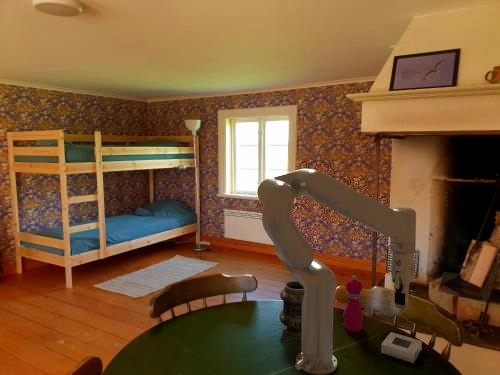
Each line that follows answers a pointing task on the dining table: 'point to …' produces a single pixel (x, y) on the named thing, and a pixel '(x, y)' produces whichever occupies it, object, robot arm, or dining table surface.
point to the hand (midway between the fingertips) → (401, 301)
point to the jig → (401, 347)
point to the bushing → (405, 298)
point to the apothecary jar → (292, 309)
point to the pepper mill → (353, 305)
